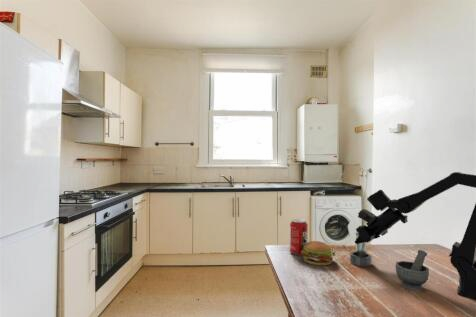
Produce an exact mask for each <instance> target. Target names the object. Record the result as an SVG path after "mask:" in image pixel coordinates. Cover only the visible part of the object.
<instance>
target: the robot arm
mask: <svg viewBox="0 0 476 317" xmlns="http://www.w3.org/2000/svg"><path fill="white" fill-rule="evenodd" d="M458 185H461V186H465V187H470V188H476V174H469V173H462V172H459V171H457V172H456V171H454V172H452V173H450V174H449V175H447V176H446V177H444V178H442V179H440V180H438V181H437V182H434V183H433V184H431V185H429V186H427V187H425V188H423V189H422V190H420V191H418V192H415V193H412V194H409V195H405V196H403V197H400V198H398V199H391V198H390V196H389V197H388V196H387V194H386V193H385V192H384V191H383V190H382V189H379V190H378V191H376V192H374V193H373V194H370V195H369V196H368V197H367V198H366V200H367V202H369V204H370V205H371V206H372V207H373V208H374V209H375V211H380V212H381V213H380V214H378V215H375V213H373V212H371V211H369V210H367V209H364V208H363V209H361V210H360V211H358V213H357V218H359V219H362V220H363V221H364V222H365V223H366V225H364V224H362V225H359V226H357V227H356V228H357V229H356V228H355V232H356V231H357V232H358V233H359V236H358V237H357V239H356V238H355V240H354V243H355V245H356V244H359V243H364V242H366V244H367V243H369V242H372V241H373V240H375V239H379V238H381V236H382V237H383V236H385V235H386V234H388V231H389V229H391V228H393V226H394V225H395V224H397V223H399V222H401V223H402V224H406V223H408V217H409V216H408V215H407V214H409V213H412V212H414V211H416V210H417V209H418V208H419V207H421V206H423V204H424V203H426V202H427V201H428V200H431V199H433V198H434V197H436V196H438V195H440V194H443V192H446V191H448V190H449V189H452V188H453V187H456V186H458ZM471 212H472V213H471V215H470V218H469V220H468V224H467V227H466V228H465V231H464V234H463V237H462V240H461V241H460V242H459V241H455V242H454V243H453V244H452V247H451V252H450V253H449V254H448V257H450V259H449V260H450V264H451V265H452V267H453V268H455V269H456V271H457V273H458V276H459V278H458V279H459V280H458V281H459V282H458V283H459V284H458V286H457V290H456V291H457V295H460V296H464V297H467V298H471V299H475V300H476V203H475V204H474V207H473V209H472V211H471Z"/></svg>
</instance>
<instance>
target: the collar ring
mask: <svg viewBox="0 0 476 317" xmlns="http://www.w3.org/2000/svg"><path fill="white" fill-rule="evenodd" d="M372 258H373V257H372V255H371V254H369V253H367V252H366V257H358V256H356V250H355V251H350V253H349V262H350V264H352V265H354V266H357V267H361V268H362V267H363V268H369V267H372V264H373V262H372Z"/></svg>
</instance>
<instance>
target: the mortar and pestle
mask: <svg viewBox="0 0 476 317" xmlns="http://www.w3.org/2000/svg"><path fill="white" fill-rule="evenodd" d="M427 256H428V252H426V251H424V250H422V249H418V250H417V255H416V257H415V259H414V261H405V260H401V261H396V263H395V273H396V274H397V277H398V278H399V279H400V280H401V283H400V285H401V287H403V288H405V289H408V290H410V291H415V292H418V291H419V292H420V291H423V285H424V284H426V283H427V281H428V280H429V275H430V271H429V270H430V269H429V267H427V266H425V265H424V263H425V262H424V261H425V259H426V257H427Z"/></svg>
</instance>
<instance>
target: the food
mask: <svg viewBox="0 0 476 317" xmlns="http://www.w3.org/2000/svg"><path fill="white" fill-rule="evenodd" d="M301 254H302V255H301V257H302V260H303V261H304V262H306V263H308V264H310V265H313V266H321V267H322V266H328V265H331V264H332V262H333V260H334V258H333V257H335V256H336V252H335V251H334V248H333V247H331V246H330V245H329V244H328V243H325V242H324V241H323V242H322V241H320V240H313V241H309V242H308V241H307V243H306V244H305V246H303V250H302V251H301Z"/></svg>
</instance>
